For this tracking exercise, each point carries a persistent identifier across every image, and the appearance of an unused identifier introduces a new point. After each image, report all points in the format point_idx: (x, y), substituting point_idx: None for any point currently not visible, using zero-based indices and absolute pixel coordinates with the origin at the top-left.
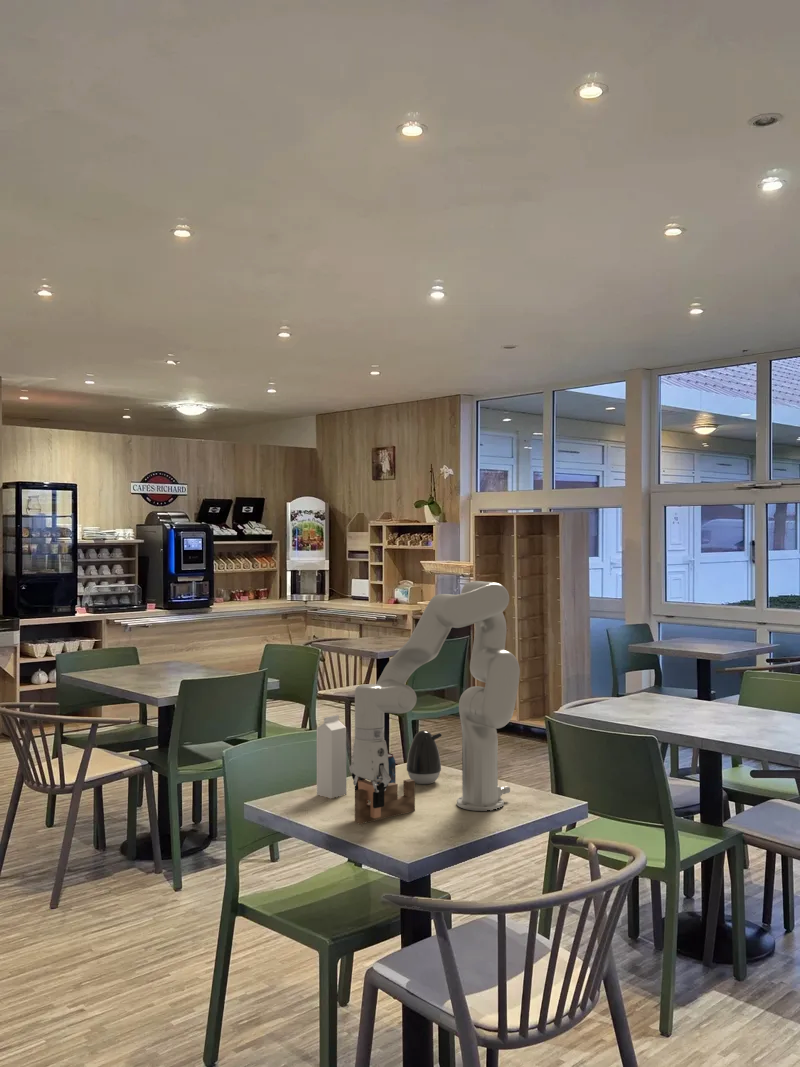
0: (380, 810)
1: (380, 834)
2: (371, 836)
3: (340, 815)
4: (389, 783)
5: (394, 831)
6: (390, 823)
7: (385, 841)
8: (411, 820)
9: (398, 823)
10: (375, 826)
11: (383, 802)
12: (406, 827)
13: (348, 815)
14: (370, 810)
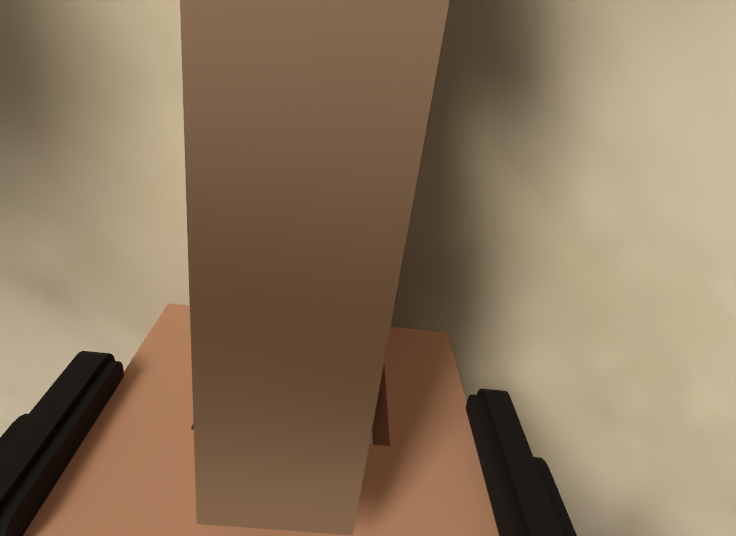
0: (456, 374)
1: (616, 465)
2: (587, 515)
3: (30, 377)
4: (206, 109)
5: (672, 372)
6: (520, 258)
7: (722, 520)
8: (649, 38)
9: (584, 210)
10: (468, 383)
11: (514, 428)
12: (714, 245)
13: (69, 338)
14: (373, 429)
